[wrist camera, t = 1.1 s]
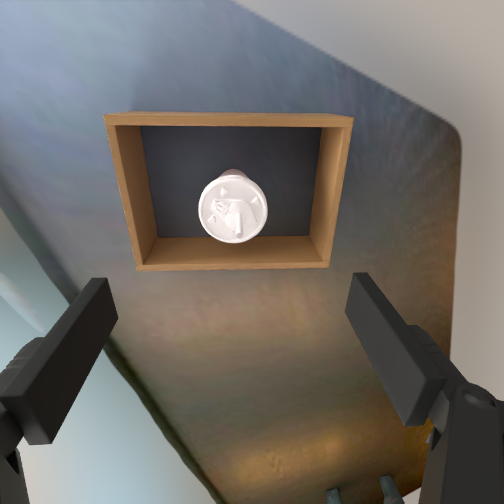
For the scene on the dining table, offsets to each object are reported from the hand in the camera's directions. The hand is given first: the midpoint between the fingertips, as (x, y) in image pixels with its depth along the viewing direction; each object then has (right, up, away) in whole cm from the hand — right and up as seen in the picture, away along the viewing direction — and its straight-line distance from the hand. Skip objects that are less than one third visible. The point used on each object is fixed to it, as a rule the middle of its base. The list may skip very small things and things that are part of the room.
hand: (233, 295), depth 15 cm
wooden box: (-1, +11, +19) cm, 22 cm away
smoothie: (-1, +11, +19) cm, 22 cm away
